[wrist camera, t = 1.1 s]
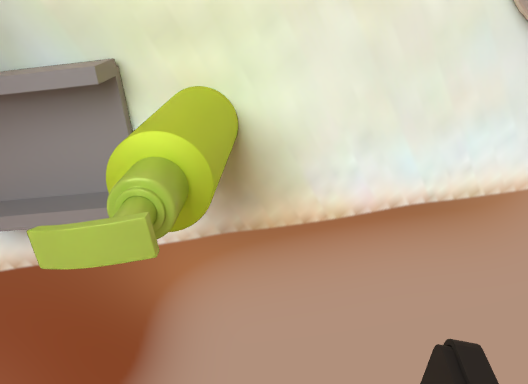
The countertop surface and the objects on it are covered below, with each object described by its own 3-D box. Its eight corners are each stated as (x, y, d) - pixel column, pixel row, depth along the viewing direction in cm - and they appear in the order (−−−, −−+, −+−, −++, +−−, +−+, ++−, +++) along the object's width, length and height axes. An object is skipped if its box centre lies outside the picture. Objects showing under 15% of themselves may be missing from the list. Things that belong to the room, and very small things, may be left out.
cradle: (116, 57, 37) (94, 66, 33) (146, 197, 42) (130, 220, 37) (-46, 76, 39) (-87, 86, 34) (-1, 210, 43) (-32, 234, 39)
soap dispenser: (142, 94, 38) (2, 191, 20) (230, 80, 38) (169, 167, 19) (160, 166, 41) (49, 314, 22) (244, 154, 40) (202, 296, 21)
